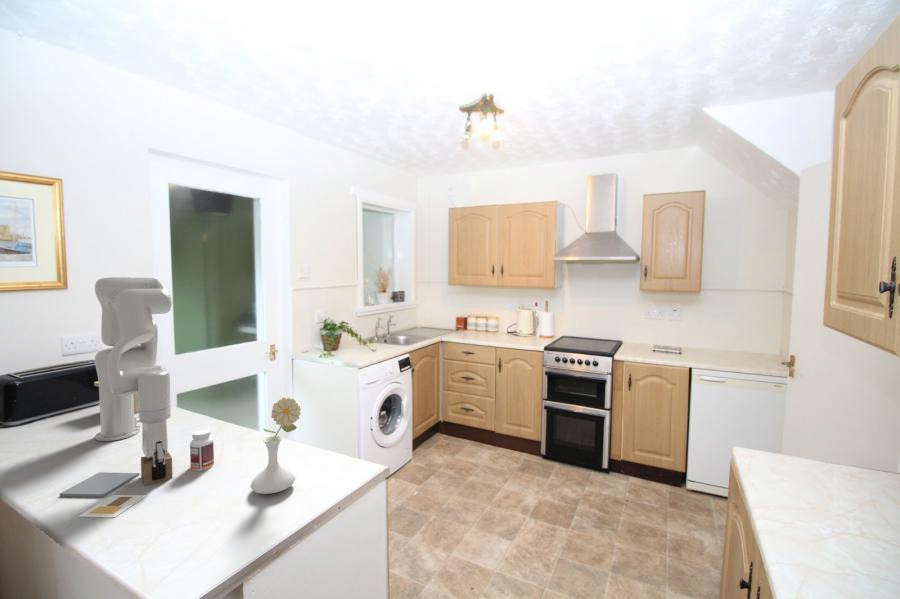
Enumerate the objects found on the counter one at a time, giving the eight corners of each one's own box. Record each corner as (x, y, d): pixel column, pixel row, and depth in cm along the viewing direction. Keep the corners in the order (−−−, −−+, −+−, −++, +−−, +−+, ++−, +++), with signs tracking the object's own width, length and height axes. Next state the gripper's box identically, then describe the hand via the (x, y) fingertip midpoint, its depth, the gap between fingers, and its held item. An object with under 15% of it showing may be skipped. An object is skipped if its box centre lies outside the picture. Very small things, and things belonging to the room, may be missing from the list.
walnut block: (141, 477, 120) (140, 457, 120) (168, 470, 125) (167, 451, 124) (144, 485, 116) (144, 464, 115) (172, 478, 120) (171, 457, 120)
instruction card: (112, 495, 110) (112, 494, 110) (146, 496, 110) (146, 495, 110) (78, 516, 100) (78, 516, 100) (114, 517, 100) (114, 516, 100)
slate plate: (99, 475, 122) (99, 472, 122) (139, 475, 121) (139, 473, 121) (59, 496, 110) (59, 493, 110) (104, 497, 109) (104, 494, 109)
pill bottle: (214, 461, 131) (214, 427, 131) (213, 469, 125) (212, 433, 125) (191, 465, 128) (191, 430, 128) (189, 473, 123) (188, 437, 122)
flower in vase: (249, 502, 107) (248, 407, 106) (251, 482, 118) (249, 395, 117) (303, 492, 113) (301, 401, 111) (300, 473, 123) (299, 390, 122)
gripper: (134, 409, 123) (136, 468, 124) (143, 424, 110) (145, 490, 111) (164, 404, 128) (166, 461, 129) (176, 418, 116) (178, 481, 116)
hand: (156, 474), depth 120 cm, fingers closed on walnut block, 6 cm apart
